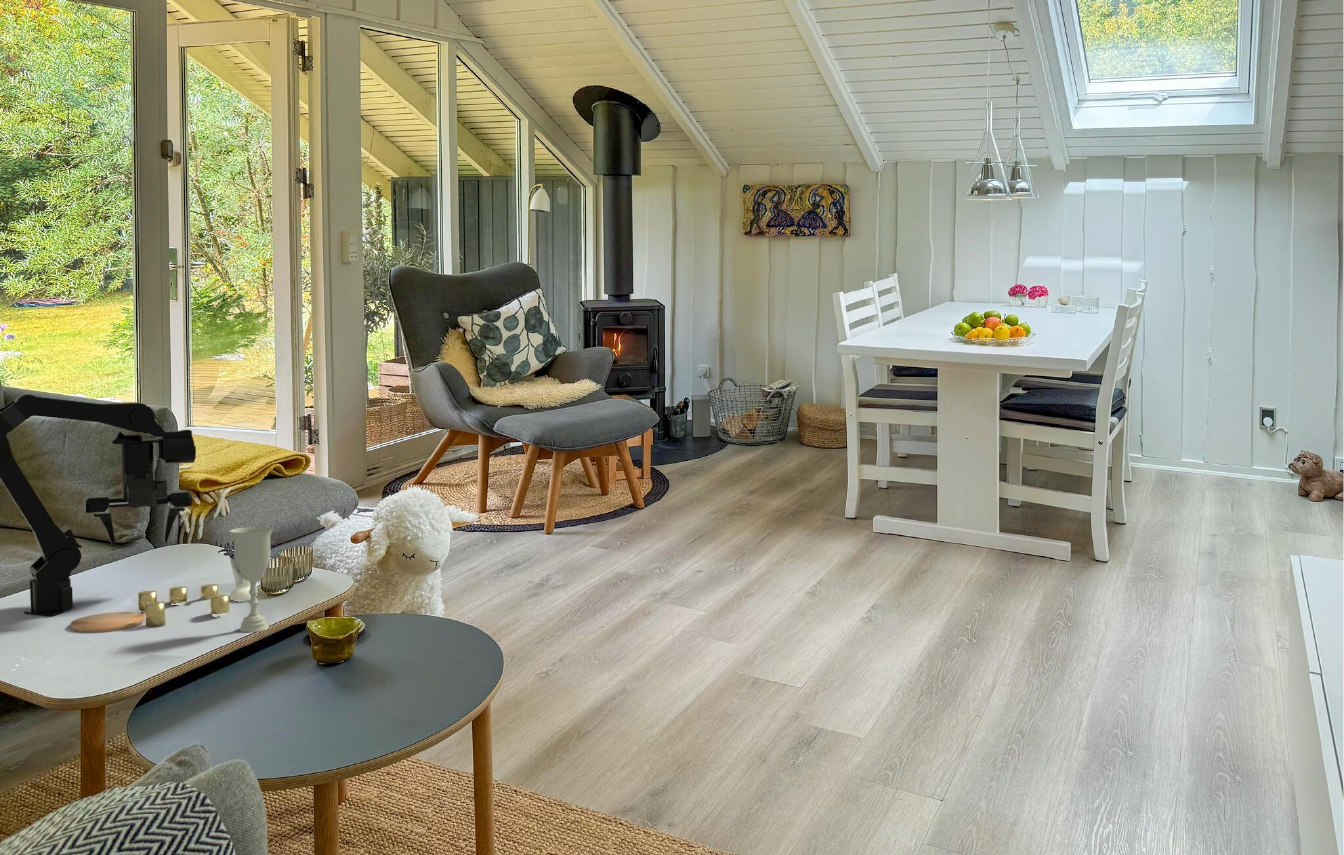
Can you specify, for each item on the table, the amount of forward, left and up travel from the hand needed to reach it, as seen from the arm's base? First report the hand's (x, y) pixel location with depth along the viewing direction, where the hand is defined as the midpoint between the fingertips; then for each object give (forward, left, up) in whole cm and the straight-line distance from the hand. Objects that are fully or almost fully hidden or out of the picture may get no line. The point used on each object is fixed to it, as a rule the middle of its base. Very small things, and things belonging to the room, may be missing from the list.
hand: (139, 544), depth 208 cm
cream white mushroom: (+21, +4, -12) cm, 25 cm away
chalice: (+33, -12, -12) cm, 37 cm away
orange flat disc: (+5, -15, -12) cm, 20 cm away
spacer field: (+14, -6, -12) cm, 19 cm away
